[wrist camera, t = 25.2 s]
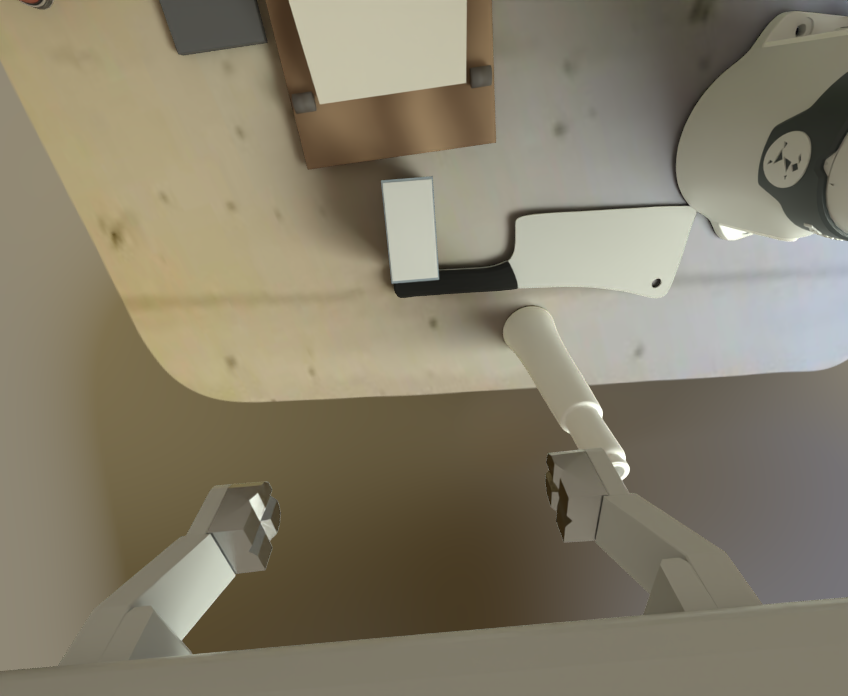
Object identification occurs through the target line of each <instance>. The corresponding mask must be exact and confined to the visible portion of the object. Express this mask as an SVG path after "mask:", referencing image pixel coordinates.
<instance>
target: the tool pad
mask: <svg viewBox="0 0 848 696" xmlns="http://www.w3.org/2000/svg"><path fill="white" fill-rule="evenodd" d="M159 1H160V4H161V6H162V9H163V12H164V15H165V18H166V21H167V23H168V26H169V29H170V32H171V35H172V38H173V40H174V43H175V46H176V49H177V52H178V54H180V55H189V54H196V53H202V52H209V51H216V50H223V49H229V48H236V47H243V46H249V45H256V44H263V43H268V42H267V38H266V34H265V31H264V27H263V23H262V19H261V15H260V11H259V8H258V4H257V0H159Z"/></svg>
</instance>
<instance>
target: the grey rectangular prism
mask: <svg viewBox="0 0 848 696" xmlns="http://www.w3.org/2000/svg"><path fill="white" fill-rule="evenodd" d="M381 186H382V196H383V205H384V215H385V225H386V234H387V244H388V254H389V263H390V273H391V283H392V284H394V283H406V282H418V281H430V280H439V268H438V252H437V237H436V221H435V206H434V190H433V176H431V177H418V178H406V179H393V180H381Z"/></svg>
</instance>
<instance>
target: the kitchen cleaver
mask: <svg viewBox="0 0 848 696" xmlns="http://www.w3.org/2000/svg"><path fill="white" fill-rule="evenodd" d="M696 213H697V211H696V210H695V209H693V208H692V207H691V206H656V207H640V208H622V209H606V210H591V211H572V212H553V213H540V214H531V215H525V216H521V217H519V218H517V219H516V221H515V247H514V251H513V254H512V256H511V257H510V259H509V260H508V261H504V262H501V263H499V264H496V265H493V266H488V267H477V268H460V269H439V280H430V281H418V282H406V283H394V284H393V285H394V291H395V293H396V294H397V296H398V297H400V298H406V297H414V296H427V295H441V294H454V293H471V292H488V291H502V290H512V289H517V288H542V287H591V288H602V289H610V290H618V291H624V292H629V293H634V294H638V295H642V296H645V297H650V298H660V297H663V296H664V295H665V294H666V293H667V292H668V290H669V289H670V286H671V284H672V282H673V279H674V277H675V274H676V271H677V269H678V266H679V263H680V261H681V258H682V255H683V252H684V248H685V245H686V242H687V239H688V236H689V232H690V229H691V227H692V224H693V221H694V218H695V216H696ZM655 279H660V284H659V285H658V286H657V287H652V282H653V281H654V280H655Z"/></svg>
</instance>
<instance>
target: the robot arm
mask: <svg viewBox="0 0 848 696" xmlns="http://www.w3.org/2000/svg"><path fill="white" fill-rule="evenodd" d="M797 27H799V31H798V34H797V35H795V31H796V29H797ZM676 175H677V181H678V185H679V188H680V191H681V193H682V195H683V197H684V199H685V200H686V201H687V203H688V204H689V205H690V206H691V207H692V208H693V209H695V210H696V211H698V212H699V213H701V214H702V215H704V216H705V217H707V218H708V219H709V220H710V222H711V224H712V226H713V228H714V231H715V232H716V234H717V235H718V237H719V238H721V239H724V240H729V241H733V240H737V239H741V238H744V237H747V236H750V235H753V234H757V235H761V236H765V237H769V238H774V239H778V240H782V241H796V240H797V239H798V238H801V237H806V236H809V235H812V234H817V235H820V236H823V237H827V238H831V239H836V240H845V241H848V16H839V15H830V14H821V13H812V12H802V11H790V12H784V13H781V14H779V15H778V16H776V17H775V18H774V19H773V20H772V21H771V22H770V23H769V24H768V26H767V27H766V28H765V29H764V31H763V32H762V33H761V35H760V36H759V38H758V39H757V40H756V42H755V43H754V45H753V46H752V48H751V49H750V50H749V51H748V52H747V53H746V54H745V55H744V56H743V57H742V58H741V59H740V60H739V61H737V62H736V63H735V64H734V65H732V66H731V67H730V68H729V69H727V70H726V71H725V72H724V73H723V74H722V75H720V76H719V77H718V78H717V79H716V80H715V81H714V83H713V84H712V85H711V86H710V87H709V88H708V89H707V90H706V92H705V93H704V94H703V96H702V97H701V98H700V100H699V101H698V103H697V104H696V106H695V107H694V109H693V111H692V112H691V114H690V116H689V118H688V120H687V122H686V125H685V127H684V129H683V132H682V135H681V138H680V142H679V145H678V150H677V157H676ZM546 463H547V466H548V469H549V471H548V472H547V473H546V474H545V475H546V476H545V484H546V492H547V496H548V499H549V503H550V506H551V507H552V508H553V509H554V510H555V511H557V515H556V522H557V525H558V528H559V530H560V533H561V536H562V539H563V542H579V541H593V540H594V541H595V542H596V543H597V544H598V545H599V546H600V547H601V548H602V549H603V550H604V551H605V552H606V553H607V554H608V555H609V556H610V557H611V558H612V559H613V560H614V561H616V562H617V563H618V564H619V565H620V566H621V567H622V568H623V569H624V570H625V571H626V572H627V573H628V574H629V575H630V576H631V577H632V578H634V580H636V581H637V582H638V583H639V584H640V585H641V586H642V587H643V588H644V589H645V590H646V591H647V592H648V593H649V594H650V596H649V599H648V602H647V605H646V608H645V611H644V614H643V615H640V616H629V617H617V618H606V619H594V620H583V621H571V622H559V623H548V624H536V625H525V626H513V627H502V628H491V629H479V630H467V631H456V632H444V633H433V634H421V635H410V636H398V637H387V638H375V639H364V640H353V641H341V642H331V643H319V644H308V645H297V646H284V647H273V648H261V649H250V650H239V651H227V652H215V653H205V654H192V652H191V651H190V650H189V649H188V648H187V647H186V645H185V644H184V643H183V642H182V641H181V640H182V639H183V638H184V637H185V636H186V634H187V633H188V632H189V631H190V629H191V628H192V627H193V626H194V625H195V623H196V622H197V621H198V620H199V619H200V618H201V616H202V615H203V614H204V613H205V612H206V610H207V609H208V608H209V607H210V606H211V604H212V603H213V602H214V601H215V600H216V598H217V597H218V596H219V595H220V593H221V592H222V591H223V590H224V589H225V588H226V586H227V585H228V584H229V583H230V582H231V580H232V579H233V578H234V577H235V574H238V573H246V572H254V571H261V570H265V569H266V566H267V563H268V560H269V557H270V553H271V551H272V546H271V544H270V540H271V539H272V538H273V537H274V536H275V535H276V534H277V531H278V528H279V525H280V514H281V513H280V507H279V504H278V501H277V500H276V499H275V498H273V497H271V496H270V495H271V492H272V488H271V486H270V484H269V482H255V483H240V484H230V485H217V486H214V487H213V488H212V489H211V490H210V492H209V494H208V496H207V497H206V499H205V501H204V503H203V505H202V507H201V509H200V510H199V512H198V514H197V516H196V518H195V520H194V522H193V524H192V525H191V527H190V529H189V531H188V533H187V535H186V536H182V537H180V538H179V539H177V540H176V541H175V542H174V543H173V544H171V545H170V546H169V547H168V548H166V549H165V550H164V551H163V552H162V553H161V554H159V555H158V556H157V557H156V558H155V559H153V560H152V561H151V562H150V563H149V564H147V565H146V566H145V567H144V568H143V569H141V570H140V571H139V572H138V573H137V574H135V575H134V576H133V577H132V578H131V579H129V580H128V581H127V582H126V583H125V584H123V585H122V586H121V587H120V588H119V589H117V590H116V591H115V592H114V593H113V594H111V595H110V596H109V597H108V598H107V599H105V600H104V601H103V602H102V603H101V604H99V605H98V606H97V607H96V608H95V609H94V610H93V611H92V613H91V614H90V616H89V618H88V619H87V621H86V622H85V624H84V626H83V627H82V629H81V630H80V632H79V633H78V635H77V636H76V638H75V640H74V641H73V643H72V644H71V646H70V647H69V649H68V651H67V652H66V654H65V655H64V657H63V658H62V660H61V661H60V663H59V665H58V666H53V667H42V668H30V669H18V670H7V671H0V696H848V597H846V598H834V599H823V600H812V601H801V602H789V603H777V604H766V605H763V604H762V603H761V602H760V600H759V599H758V597H757V596H756V594H755V593H754V592H753V590H752V589H751V587H750V586H749V585H748V583H747V582H746V580H745V579H744V578H743V576H742V575H741V574H740V572H739V571H738V569H737V568H736V566H735V565H734V564H733V562H732V561H731V559H730V558H729V557H728V555H727V554H726V552H724V551H723V550H721V549H720V548H718V547H716V546H715V545H713V544H712V543H710V542H709V541H707V540H706V539H704V538H703V537H701V536H699V535H698V534H697V533H695V532H694V531H692V530H691V529H689V528H688V527H686V526H684V525H683V524H681V523H680V522H678V521H677V520H675V519H674V518H672V517H671V516H669V515H668V514H666V513H665V512H663V511H661V510H660V509H659V508H657V507H655V506H654V505H652V504H651V503H649V502H648V501H646V500H645V499H643V498H642V497H640V496H639V495H637V494H636V493H629V492H628V490H627V488H626V486H625V485H624V483H623V481H622V480H621V478H620V476H619V474H618V473H617V471H616V469H615V468H614V466H613V464H612V462H611V461H610V459H609V457H608V455H607V454H606V452H605V450H604V449H602V448H592V449H583V450H582V449H581V450H572V451H563V452H554V453H548V455H547V460H546Z"/></svg>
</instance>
